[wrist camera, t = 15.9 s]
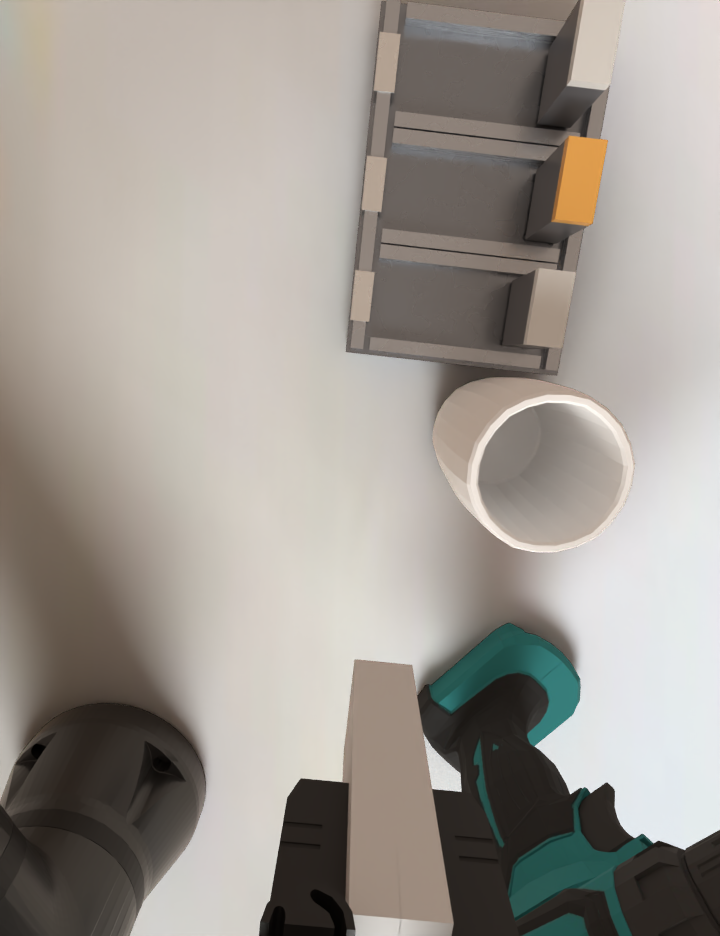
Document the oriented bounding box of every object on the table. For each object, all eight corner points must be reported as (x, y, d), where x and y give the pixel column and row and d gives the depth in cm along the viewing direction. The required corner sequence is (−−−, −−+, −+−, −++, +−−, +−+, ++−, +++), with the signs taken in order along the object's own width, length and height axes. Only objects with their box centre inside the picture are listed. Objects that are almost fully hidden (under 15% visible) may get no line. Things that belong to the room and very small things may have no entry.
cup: (402, 420, 39) (424, 457, 25) (500, 347, 38) (579, 344, 24) (470, 511, 41) (526, 593, 27) (566, 443, 40) (676, 492, 26)
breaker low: (501, 345, 35) (526, 344, 30) (512, 281, 35) (539, 268, 29) (532, 348, 35) (562, 348, 30) (543, 284, 35) (576, 272, 29)
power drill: (604, 529, 41) (968, 793, 16) (679, 608, 42) (1120, 963, 18) (357, 744, 45) (351, 1218, 20) (432, 811, 46) (512, 1332, 22)
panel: (346, 351, 38) (345, 351, 35) (380, 26, 34) (382, -10, 31) (544, 374, 38) (561, 376, 35) (601, 53, 34) (627, 21, 31)
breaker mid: (525, 239, 34) (555, 219, 29) (536, 170, 33) (569, 135, 28) (556, 243, 34) (592, 223, 29) (568, 174, 33) (607, 140, 28)
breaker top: (537, 124, 33) (570, 79, 27) (549, 48, 32) (586, -13, 27) (570, 128, 33) (610, 84, 27) (583, 52, 32) (626, -8, 27)
